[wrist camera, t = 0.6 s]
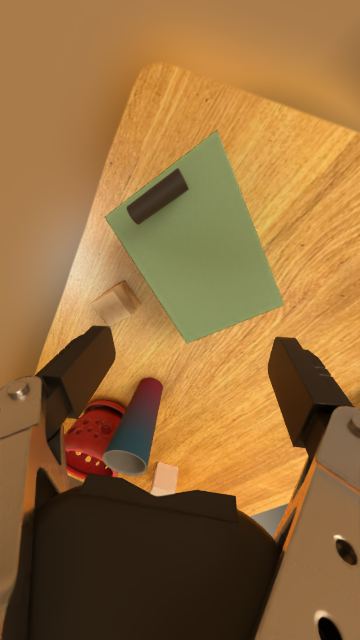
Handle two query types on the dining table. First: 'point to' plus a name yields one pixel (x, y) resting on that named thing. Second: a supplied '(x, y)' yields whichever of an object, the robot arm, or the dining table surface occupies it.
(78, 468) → the flower pot
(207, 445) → the dining table surface
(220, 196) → the lunchbox lid
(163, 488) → the beige cube
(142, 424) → the cup
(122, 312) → the wooden block
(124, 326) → the dining table surface
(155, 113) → the dining table surface
